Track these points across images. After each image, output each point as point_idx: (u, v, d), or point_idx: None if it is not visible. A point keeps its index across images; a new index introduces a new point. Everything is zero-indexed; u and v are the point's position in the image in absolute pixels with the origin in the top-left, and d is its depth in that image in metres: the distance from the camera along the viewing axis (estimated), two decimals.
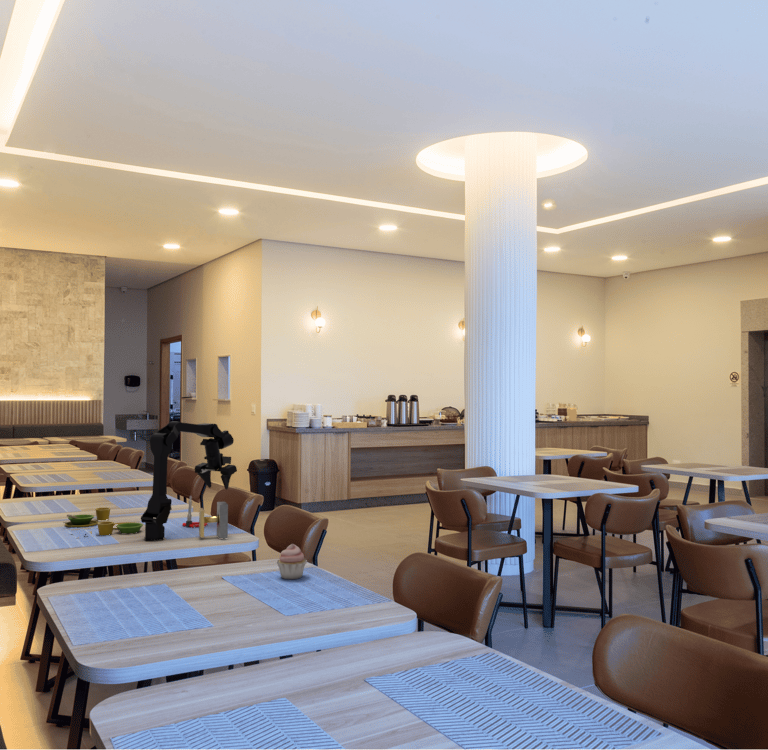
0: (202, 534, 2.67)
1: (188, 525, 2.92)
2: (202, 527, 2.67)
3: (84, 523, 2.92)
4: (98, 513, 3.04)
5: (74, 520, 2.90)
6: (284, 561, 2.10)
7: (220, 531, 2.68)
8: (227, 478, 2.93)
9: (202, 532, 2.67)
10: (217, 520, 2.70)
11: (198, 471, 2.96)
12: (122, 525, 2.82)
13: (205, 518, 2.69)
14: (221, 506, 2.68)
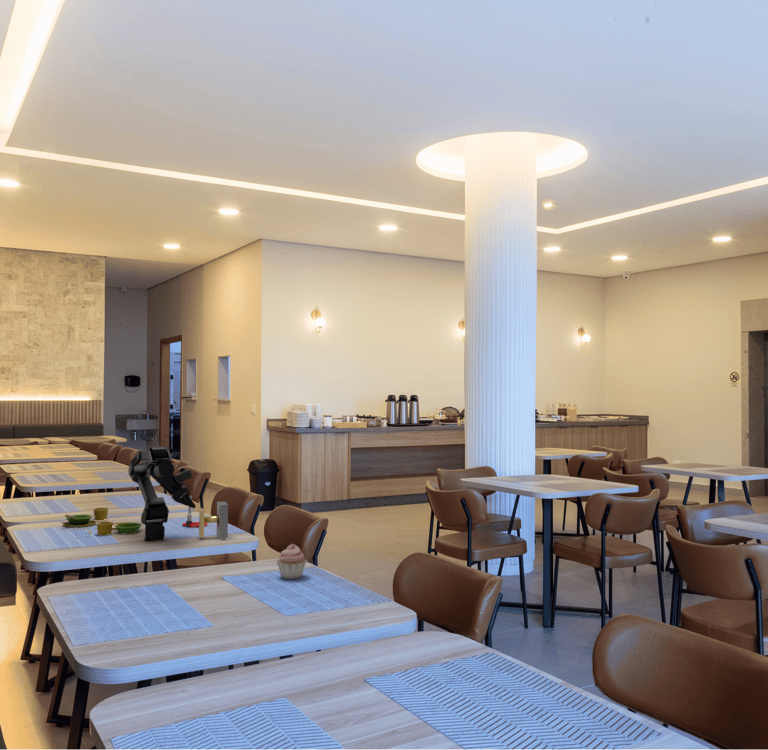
0: (202, 534, 2.67)
1: (188, 525, 2.92)
2: (202, 527, 2.67)
3: (82, 523, 2.92)
4: (96, 513, 3.04)
5: (72, 520, 2.90)
6: (284, 561, 2.10)
7: (220, 531, 2.68)
8: (186, 499, 2.62)
9: (202, 532, 2.67)
10: (217, 520, 2.70)
11: (170, 494, 2.72)
12: (121, 525, 2.82)
13: (205, 518, 2.69)
14: (221, 506, 2.68)
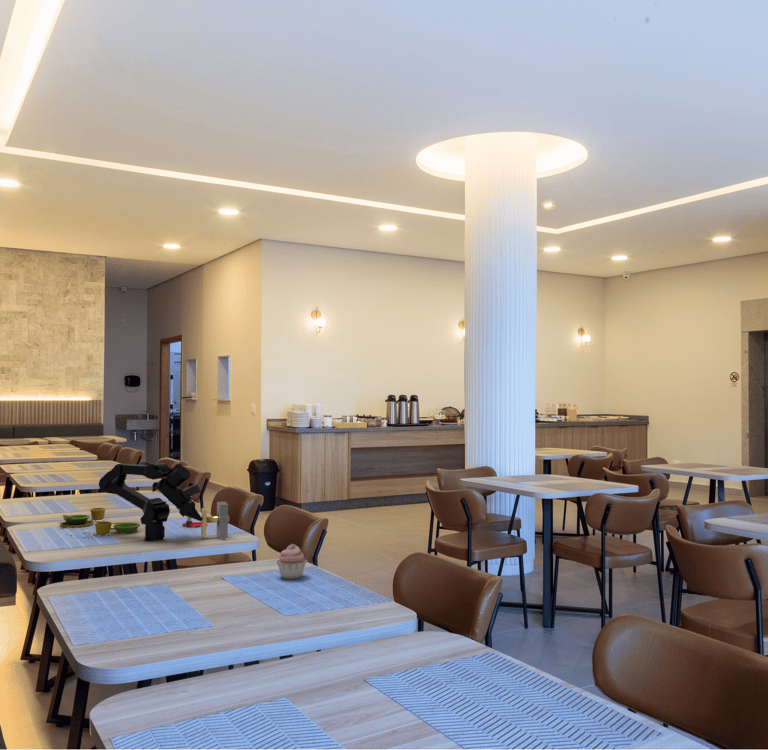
0: (204, 534, 2.67)
1: (188, 525, 2.92)
2: (204, 527, 2.67)
3: (80, 523, 2.92)
4: (93, 513, 3.04)
5: (70, 520, 2.90)
6: (284, 561, 2.10)
7: (220, 531, 2.68)
8: (193, 512, 2.67)
9: (204, 532, 2.67)
10: None
11: None
12: (119, 525, 2.82)
13: (207, 518, 2.69)
14: (221, 506, 2.68)
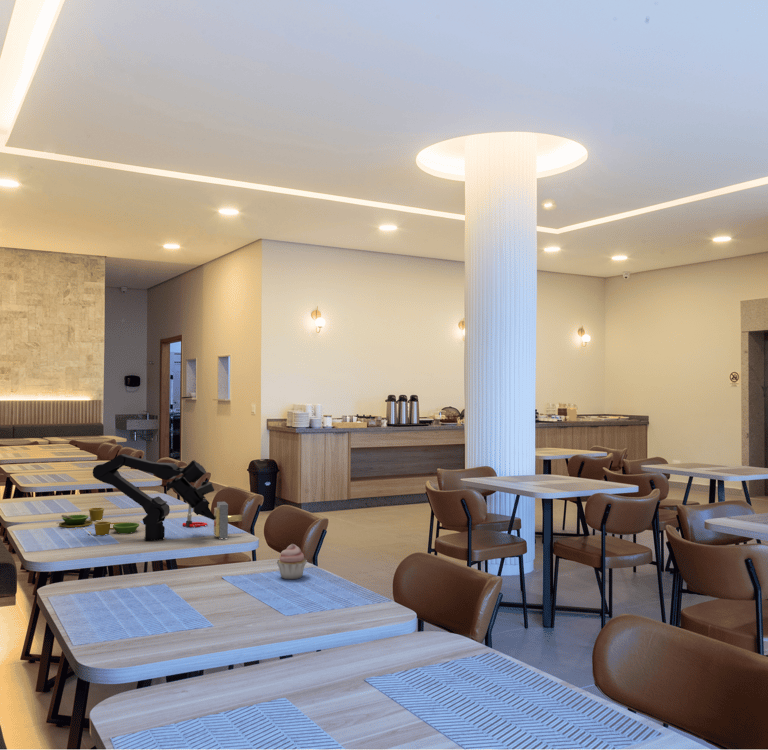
0: (217, 533, 2.68)
1: (188, 525, 2.92)
2: (217, 526, 2.69)
3: (79, 523, 2.92)
4: (92, 513, 3.04)
5: (69, 520, 2.90)
6: (284, 561, 2.10)
7: (220, 531, 2.68)
8: (206, 510, 2.69)
9: (217, 531, 2.68)
10: (232, 519, 2.72)
11: None
12: (118, 525, 2.82)
13: None
14: (221, 506, 2.68)
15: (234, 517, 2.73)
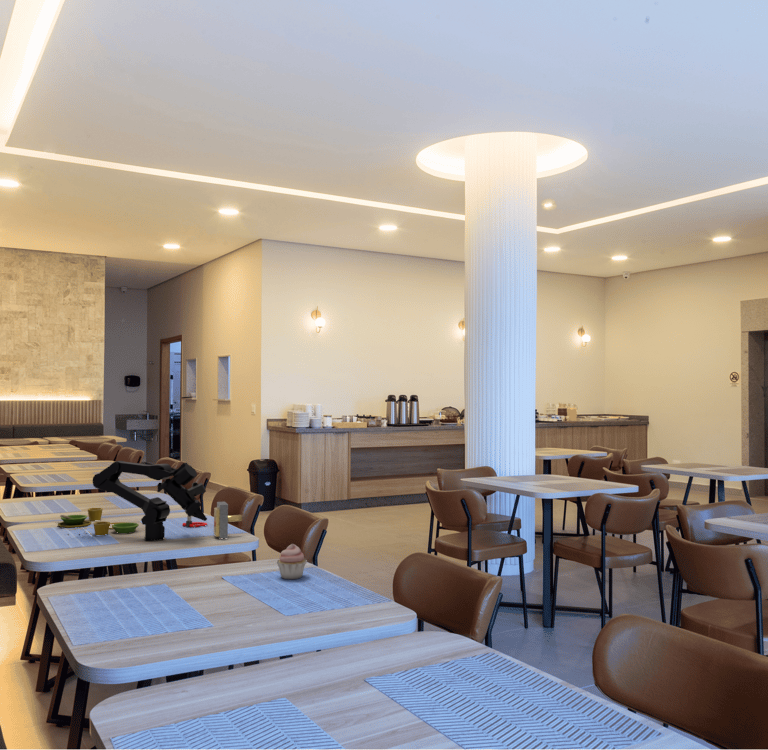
0: (217, 533, 2.68)
1: (188, 525, 2.92)
2: (217, 526, 2.69)
3: (77, 523, 2.92)
4: (90, 513, 3.04)
5: (67, 520, 2.90)
6: (284, 561, 2.10)
7: (220, 531, 2.68)
8: (198, 511, 2.68)
9: (217, 531, 2.68)
10: (232, 519, 2.72)
11: (183, 508, 2.74)
12: (117, 525, 2.83)
13: None
14: (221, 506, 2.68)
15: (234, 517, 2.73)
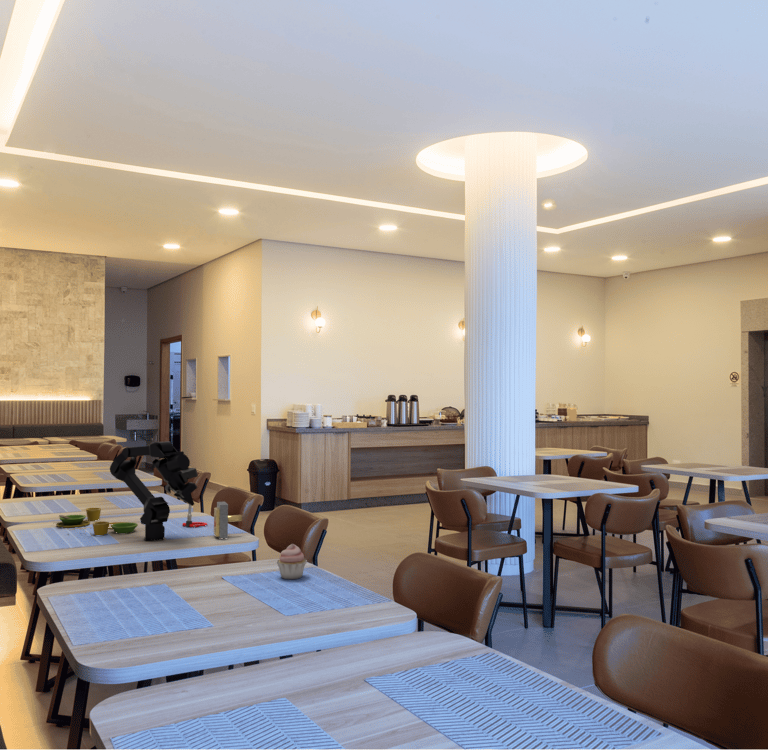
0: (217, 533, 2.68)
1: (188, 525, 2.92)
2: (217, 526, 2.69)
3: (76, 523, 2.92)
4: (89, 513, 3.04)
5: (66, 520, 2.89)
6: (284, 561, 2.10)
7: (220, 531, 2.68)
8: (187, 495, 2.68)
9: (217, 531, 2.68)
10: (232, 519, 2.72)
11: (168, 492, 2.72)
12: (116, 525, 2.83)
13: None
14: (221, 506, 2.68)
15: (234, 517, 2.73)
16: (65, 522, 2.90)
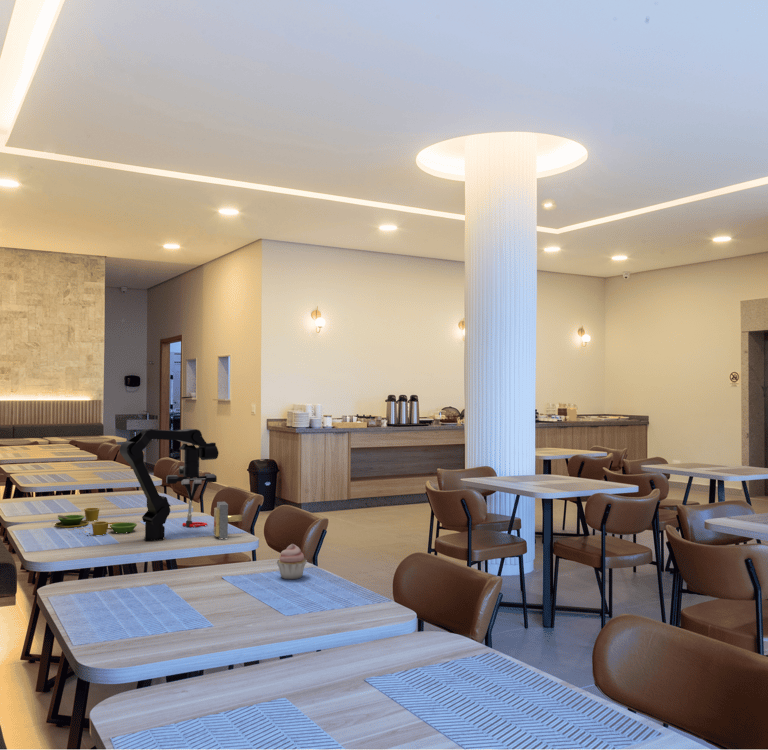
0: (217, 533, 2.68)
1: (188, 525, 2.92)
2: (217, 526, 2.69)
3: (75, 523, 2.91)
4: (87, 513, 3.03)
5: (65, 520, 2.89)
6: (284, 561, 2.10)
7: (220, 531, 2.68)
8: None
9: (217, 531, 2.68)
10: (232, 519, 2.72)
11: (174, 481, 2.73)
12: (115, 525, 2.83)
13: None
14: (221, 506, 2.68)
15: (234, 517, 2.73)
16: (64, 522, 2.90)
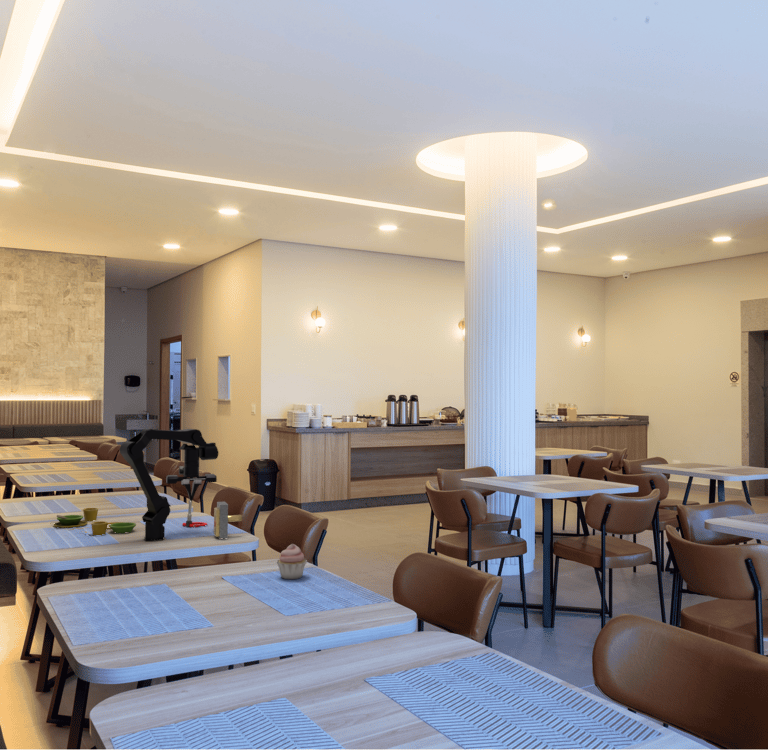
0: (217, 533, 2.68)
1: (188, 525, 2.92)
2: (217, 526, 2.69)
3: (74, 523, 2.91)
4: (86, 513, 3.03)
5: (64, 521, 2.89)
6: (284, 561, 2.10)
7: (220, 531, 2.68)
8: None
9: (217, 531, 2.68)
10: (232, 519, 2.72)
11: (174, 481, 2.73)
12: (114, 525, 2.83)
13: None
14: (221, 506, 2.68)
15: (234, 517, 2.73)
16: (63, 522, 2.90)
